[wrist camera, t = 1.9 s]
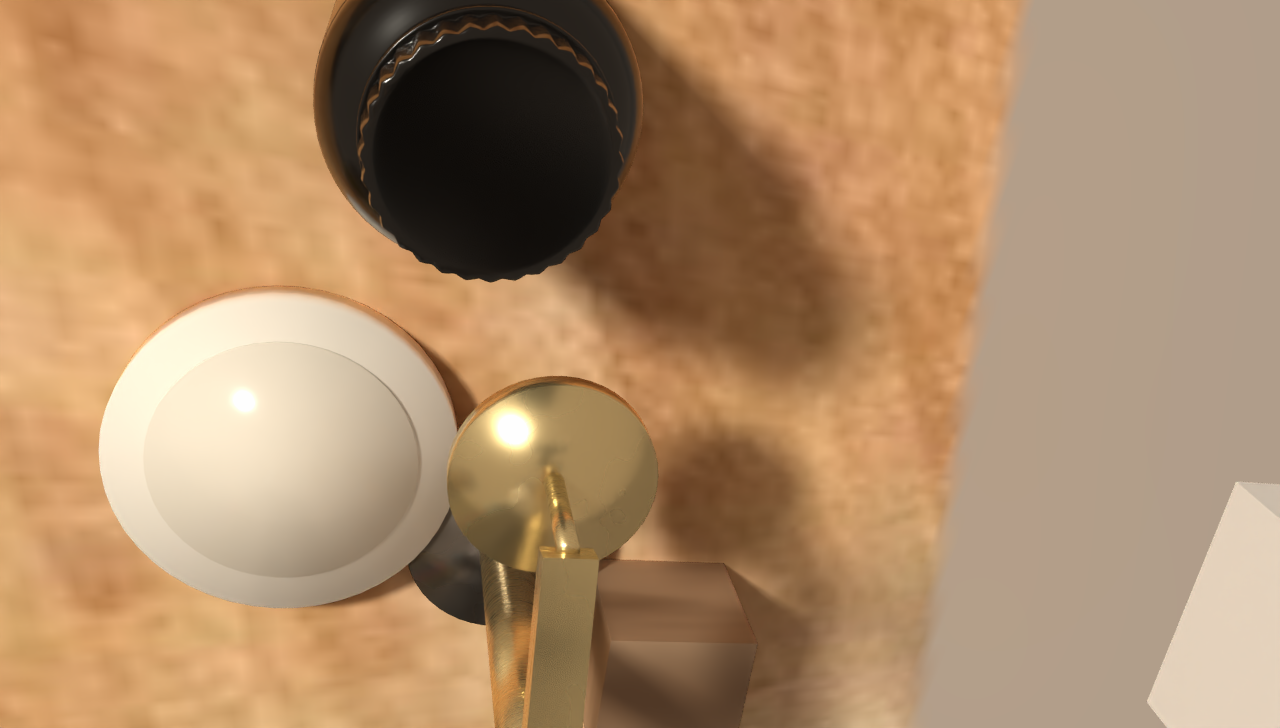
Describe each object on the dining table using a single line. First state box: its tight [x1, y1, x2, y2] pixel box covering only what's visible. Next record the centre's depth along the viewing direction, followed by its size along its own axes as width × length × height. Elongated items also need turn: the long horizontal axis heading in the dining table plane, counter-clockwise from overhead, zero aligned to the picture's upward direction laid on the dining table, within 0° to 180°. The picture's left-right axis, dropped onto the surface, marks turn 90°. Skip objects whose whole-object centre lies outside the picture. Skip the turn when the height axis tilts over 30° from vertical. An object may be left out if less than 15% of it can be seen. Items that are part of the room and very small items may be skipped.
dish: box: [99, 286, 457, 608], centre depth 36 cm, size 10×10×1 cm
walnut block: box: [583, 559, 758, 728], centre depth 39 cm, size 4×4×4 cm
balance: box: [408, 376, 658, 728], centre depth 32 cm, size 18×6×15 cm, turn 171°
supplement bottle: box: [313, 0, 643, 282], centre depth 27 cm, size 7×7×12 cm
